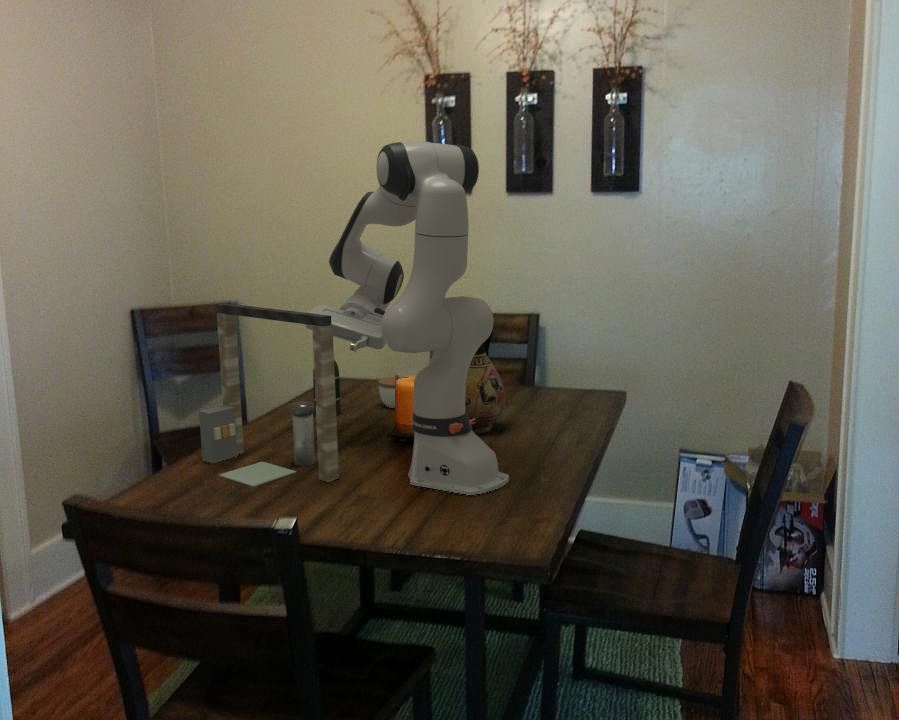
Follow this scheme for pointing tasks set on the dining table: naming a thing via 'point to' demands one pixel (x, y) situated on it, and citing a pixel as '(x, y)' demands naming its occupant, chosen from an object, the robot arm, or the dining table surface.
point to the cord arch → (321, 372)
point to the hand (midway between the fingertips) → (334, 342)
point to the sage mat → (257, 474)
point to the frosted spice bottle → (303, 432)
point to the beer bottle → (337, 389)
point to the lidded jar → (388, 390)
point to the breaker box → (218, 433)
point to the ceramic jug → (483, 390)
